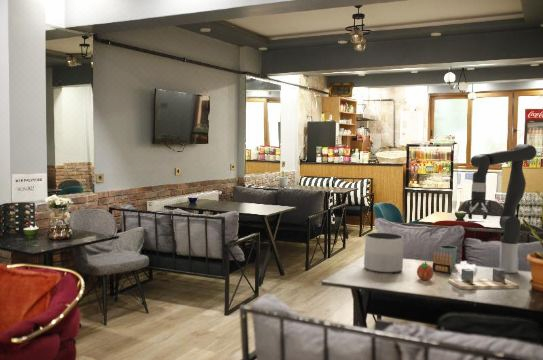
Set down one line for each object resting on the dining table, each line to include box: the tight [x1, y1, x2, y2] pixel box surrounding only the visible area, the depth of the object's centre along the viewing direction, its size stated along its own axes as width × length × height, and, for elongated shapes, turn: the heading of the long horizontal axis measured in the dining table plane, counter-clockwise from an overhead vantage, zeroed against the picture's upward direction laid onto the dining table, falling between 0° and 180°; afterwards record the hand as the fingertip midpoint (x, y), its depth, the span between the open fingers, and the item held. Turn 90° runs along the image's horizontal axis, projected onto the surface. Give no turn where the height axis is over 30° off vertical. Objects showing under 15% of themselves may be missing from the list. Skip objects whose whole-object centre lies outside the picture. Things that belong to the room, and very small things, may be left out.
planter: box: [363, 232, 404, 274], centre depth 306 cm, size 22×22×20 cm
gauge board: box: [447, 267, 520, 290], centre depth 276 cm, size 32×14×8 cm, turn 98°
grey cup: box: [439, 244, 458, 269], centre depth 318 cm, size 10×10×12 cm
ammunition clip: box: [431, 251, 452, 275], centre depth 301 cm, size 11×2×12 cm, turn 55°
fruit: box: [416, 261, 434, 281], centre depth 284 cm, size 9×10×10 cm
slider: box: [460, 268, 475, 283], centre depth 276 cm, size 4×8×6 cm, turn 8°
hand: (477, 219), depth 296 cm, fingers open, 8 cm apart
